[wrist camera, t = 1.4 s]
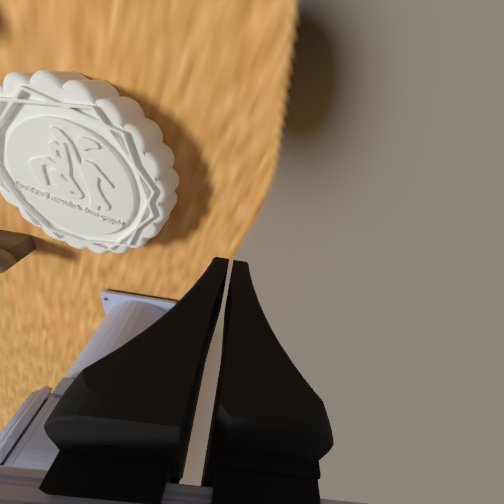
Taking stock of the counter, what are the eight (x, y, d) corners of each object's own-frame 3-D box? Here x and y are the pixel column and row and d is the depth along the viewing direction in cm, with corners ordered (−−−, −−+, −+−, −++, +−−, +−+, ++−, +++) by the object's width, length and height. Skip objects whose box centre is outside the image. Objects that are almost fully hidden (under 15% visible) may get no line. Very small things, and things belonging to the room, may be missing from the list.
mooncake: (199, 126, 17) (185, 135, 14) (162, 253, 23) (147, 279, 20) (2, 29, 14) (-66, 16, 11) (23, 203, 21) (-17, 223, 18)
